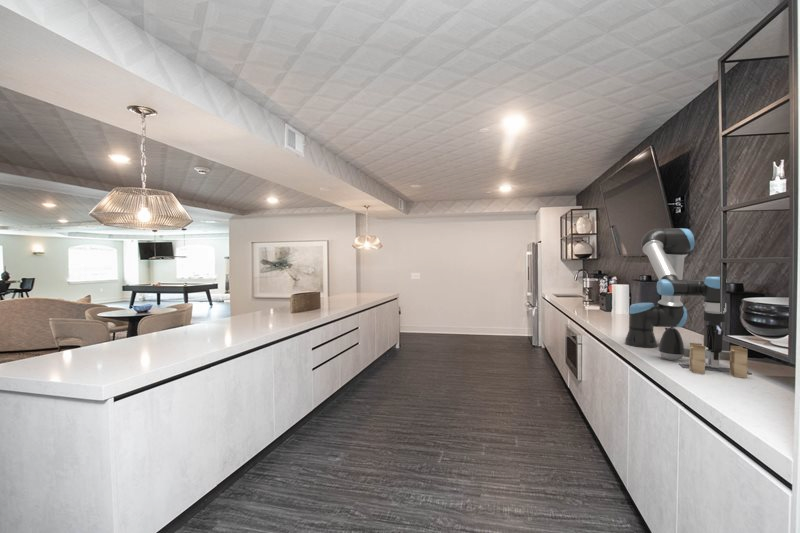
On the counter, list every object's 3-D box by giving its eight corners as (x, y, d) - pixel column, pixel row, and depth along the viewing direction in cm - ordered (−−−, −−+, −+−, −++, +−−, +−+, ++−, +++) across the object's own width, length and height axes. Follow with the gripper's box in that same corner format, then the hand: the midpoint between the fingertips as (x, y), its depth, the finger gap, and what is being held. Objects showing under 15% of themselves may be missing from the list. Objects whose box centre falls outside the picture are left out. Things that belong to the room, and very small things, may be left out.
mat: (678, 364, 183) (678, 363, 183) (744, 370, 174) (744, 369, 174) (682, 367, 177) (682, 367, 177) (751, 374, 167) (751, 373, 167)
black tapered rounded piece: (676, 357, 197) (676, 326, 197) (689, 362, 187) (690, 329, 186) (654, 356, 198) (654, 325, 198) (665, 361, 188) (666, 329, 187)
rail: (682, 355, 181) (682, 347, 181) (744, 360, 172) (744, 352, 172) (684, 356, 178) (684, 348, 178) (747, 362, 170) (747, 353, 170)
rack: (689, 369, 174) (689, 342, 174) (741, 374, 167) (742, 346, 167) (693, 372, 169) (693, 345, 169) (746, 378, 162) (747, 349, 162)
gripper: (698, 309, 184) (697, 361, 184) (710, 314, 169) (709, 369, 169) (719, 310, 181) (717, 362, 181) (732, 315, 166) (731, 371, 166)
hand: (713, 366), depth 175 cm, fingers closed on rail, 3 cm apart
